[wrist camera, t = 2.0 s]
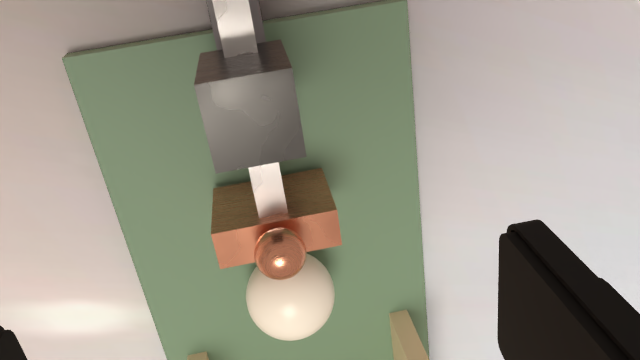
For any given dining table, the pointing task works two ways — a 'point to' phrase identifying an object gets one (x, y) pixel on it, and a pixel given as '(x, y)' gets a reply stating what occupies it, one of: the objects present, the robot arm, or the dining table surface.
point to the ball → (291, 301)
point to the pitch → (322, 152)
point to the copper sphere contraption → (259, 153)
